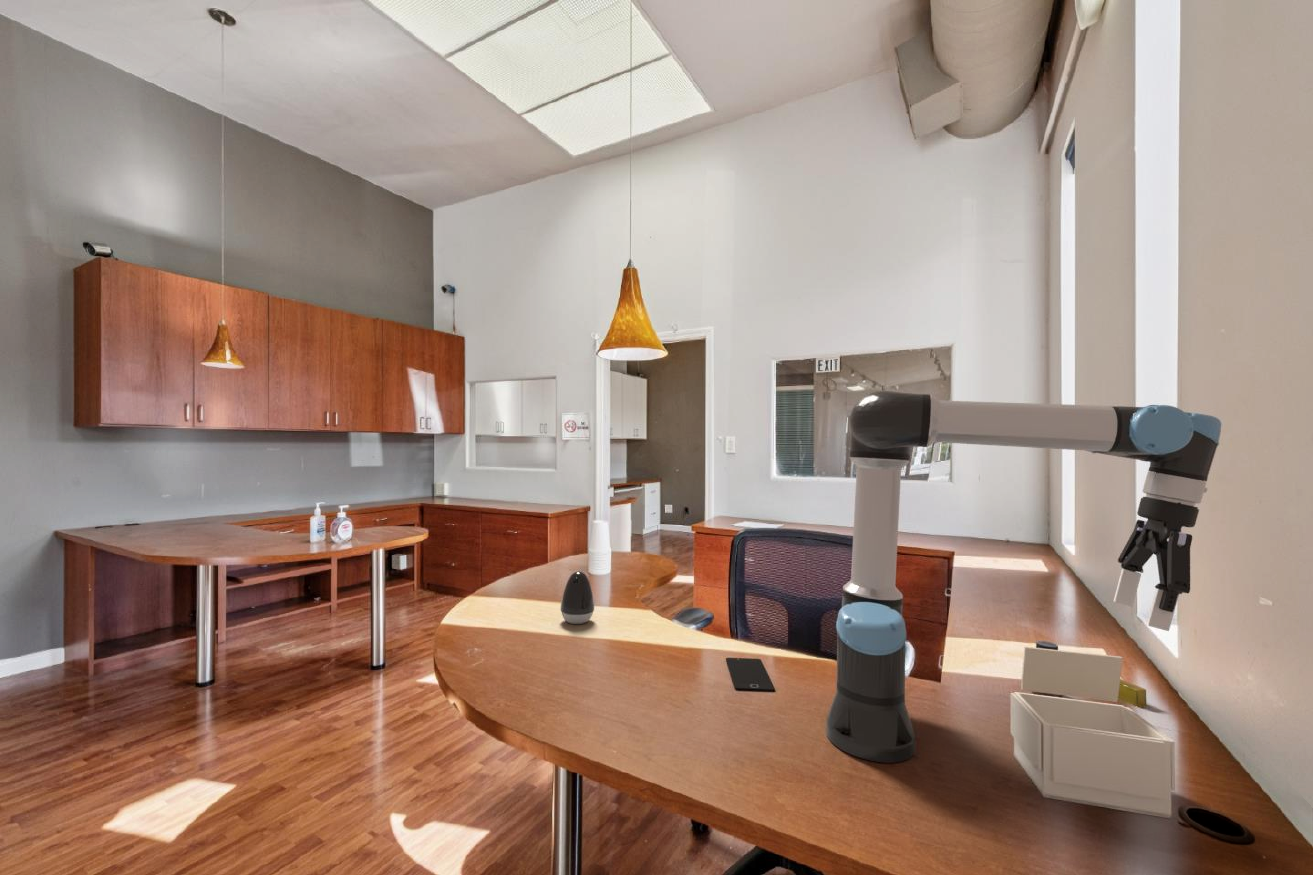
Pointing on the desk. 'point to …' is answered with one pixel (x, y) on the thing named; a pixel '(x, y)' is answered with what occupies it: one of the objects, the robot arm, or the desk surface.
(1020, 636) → the desk surface
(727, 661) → the cell phone
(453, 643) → the desk surface
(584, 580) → the black egg shaped device
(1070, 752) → the carton
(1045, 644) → the supplement bottle
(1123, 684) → the medication box
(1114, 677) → the far flap
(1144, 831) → the desk surface
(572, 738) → the desk surface
